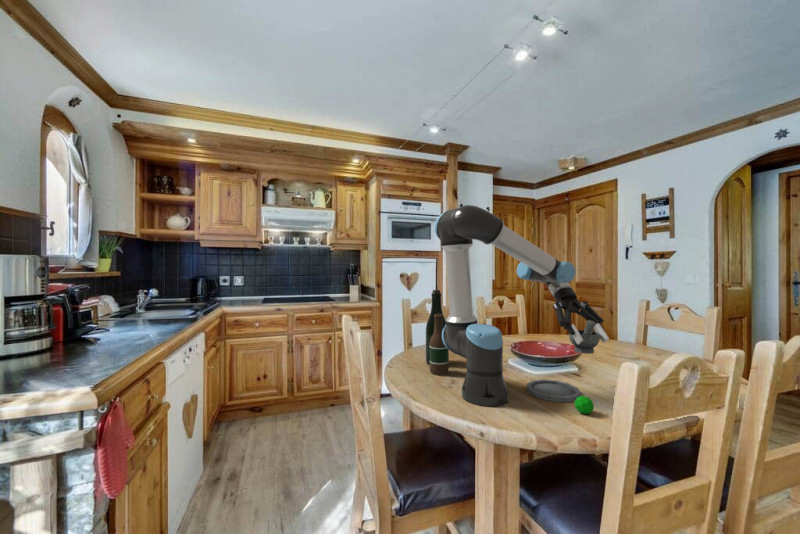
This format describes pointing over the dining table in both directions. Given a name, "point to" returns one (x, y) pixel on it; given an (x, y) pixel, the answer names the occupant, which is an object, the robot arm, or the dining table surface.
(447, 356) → the beer bottle
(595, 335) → the mortar and pestle
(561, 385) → the gray plate
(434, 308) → the wine bottle
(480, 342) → the robot arm
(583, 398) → the polyhedron
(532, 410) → the dining table surface
